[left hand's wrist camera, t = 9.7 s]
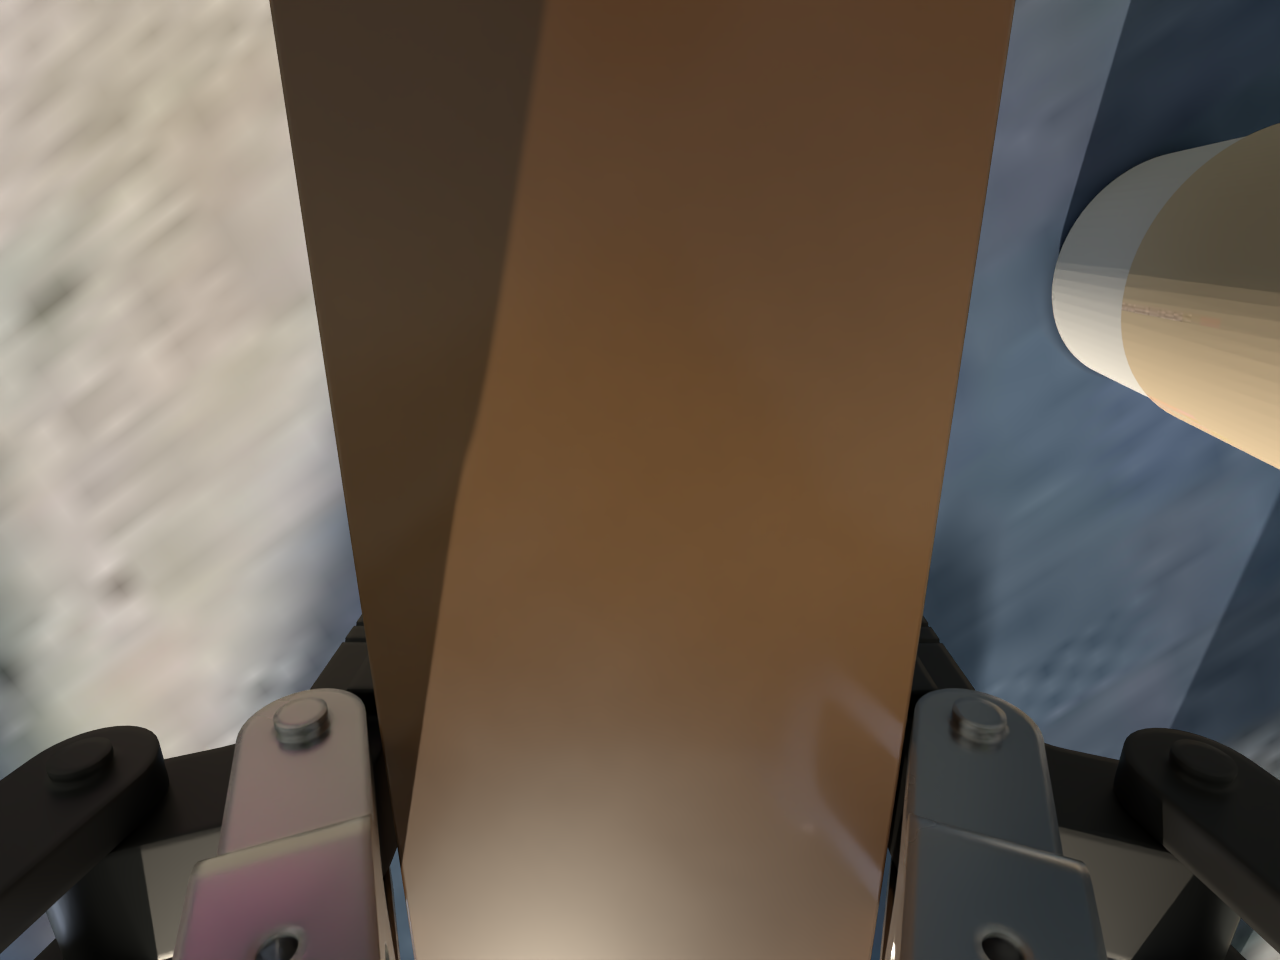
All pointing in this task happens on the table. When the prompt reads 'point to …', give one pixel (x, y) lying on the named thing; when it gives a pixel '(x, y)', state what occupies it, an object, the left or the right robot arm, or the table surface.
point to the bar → (642, 441)
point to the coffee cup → (1185, 287)
